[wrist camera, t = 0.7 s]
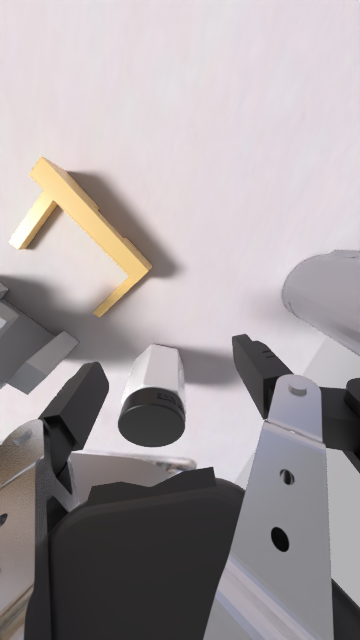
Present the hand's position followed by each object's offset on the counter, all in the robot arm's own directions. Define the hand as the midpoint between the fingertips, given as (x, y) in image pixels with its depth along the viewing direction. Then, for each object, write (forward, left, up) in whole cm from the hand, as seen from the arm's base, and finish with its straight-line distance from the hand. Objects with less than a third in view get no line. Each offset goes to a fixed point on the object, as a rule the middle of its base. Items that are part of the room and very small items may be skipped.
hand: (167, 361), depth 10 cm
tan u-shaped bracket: (+6, -11, -17) cm, 21 cm away
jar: (+11, +9, -17) cm, 22 cm away
